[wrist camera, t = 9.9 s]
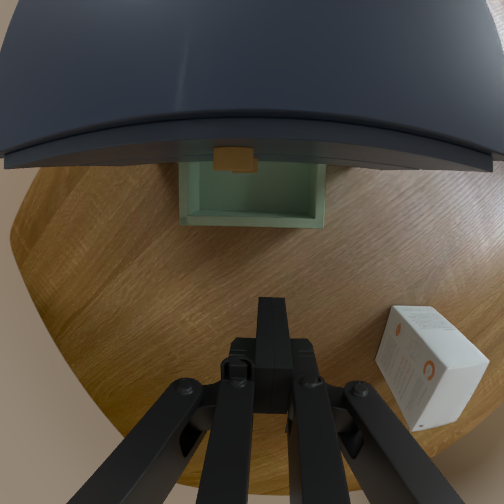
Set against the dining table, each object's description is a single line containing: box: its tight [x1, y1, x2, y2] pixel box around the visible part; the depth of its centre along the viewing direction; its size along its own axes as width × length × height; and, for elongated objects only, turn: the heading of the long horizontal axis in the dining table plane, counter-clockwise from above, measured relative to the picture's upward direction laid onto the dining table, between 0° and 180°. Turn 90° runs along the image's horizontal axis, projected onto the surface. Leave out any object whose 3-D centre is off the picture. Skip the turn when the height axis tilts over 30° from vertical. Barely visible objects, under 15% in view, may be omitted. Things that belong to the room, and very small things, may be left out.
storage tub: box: [179, 161, 326, 229], centre depth 23 cm, size 18×12×5 cm, turn 179°
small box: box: [375, 305, 490, 432], centre depth 24 cm, size 8×6×13 cm
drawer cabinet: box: [0, 0, 504, 173], centre depth 15 cm, size 13×20×21 cm
